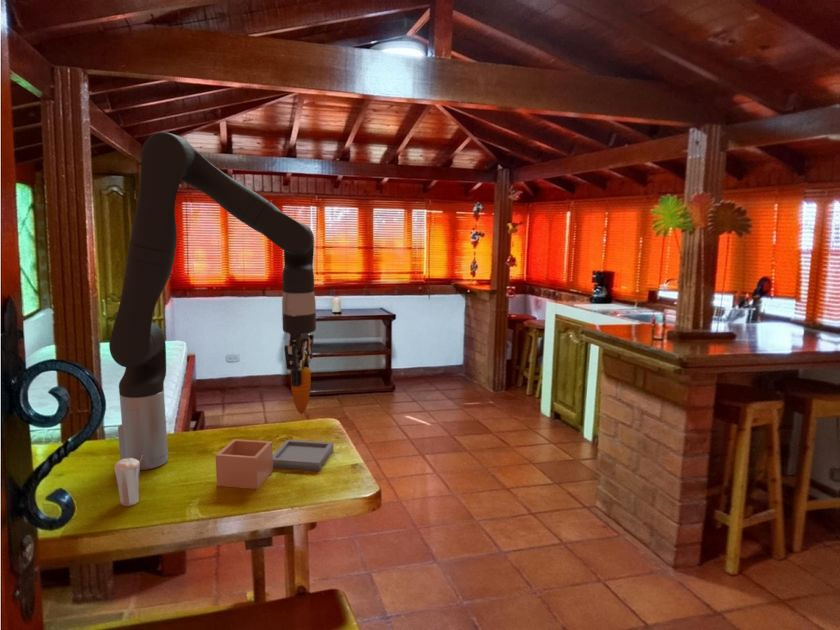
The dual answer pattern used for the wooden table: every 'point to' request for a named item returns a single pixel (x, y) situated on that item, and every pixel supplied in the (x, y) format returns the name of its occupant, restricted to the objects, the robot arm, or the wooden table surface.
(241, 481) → the box
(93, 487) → the wooden table surface
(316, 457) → the tray
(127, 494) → the milkshake
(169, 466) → the wooden table surface
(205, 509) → the wooden table surface
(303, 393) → the carrot
